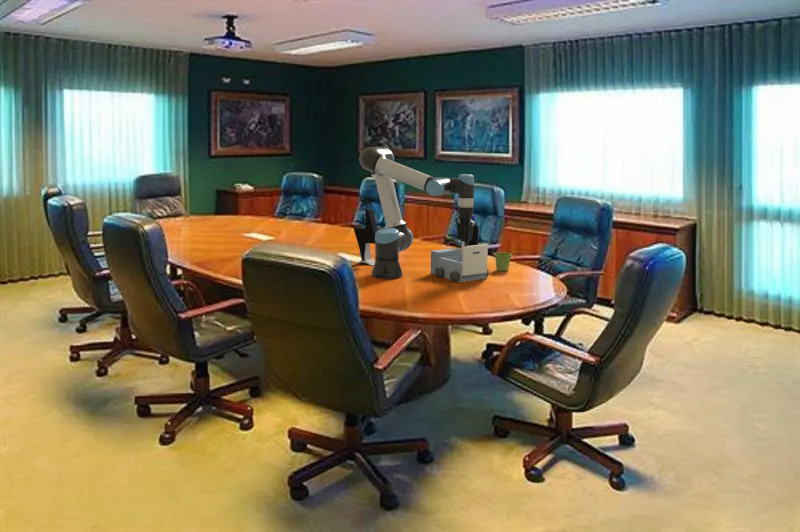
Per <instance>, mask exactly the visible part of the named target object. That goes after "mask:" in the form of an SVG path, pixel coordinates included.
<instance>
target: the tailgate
mask: <svg viewBox="0 0 800 532" xmlns="http://www.w3.org/2000/svg"><path fill="white" fill-rule="evenodd" d="M488 252H489V245H488V244H487V243H484V244H478V245H473V246H464V247H463V254H462V278H464V277H471V276H479V275H486V274H487V269H488V257H489V256H488V254H489V253H488Z"/></svg>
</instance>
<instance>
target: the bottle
mask: <svg viewBox="0 0 800 532" xmlns="http://www.w3.org/2000/svg"><path fill="white" fill-rule="evenodd" d="M472 220H473V222H476V221H475V220H476V214H475V215H474V214H473V215H472ZM479 229H480V227H479V225H478V223H477V222H476V224H475V226H474V230H473V236H472V240H471V241H469V242H468V246H473V245H479V241H480V238H479V237H480V233H479V232H480V230H479Z"/></svg>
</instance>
